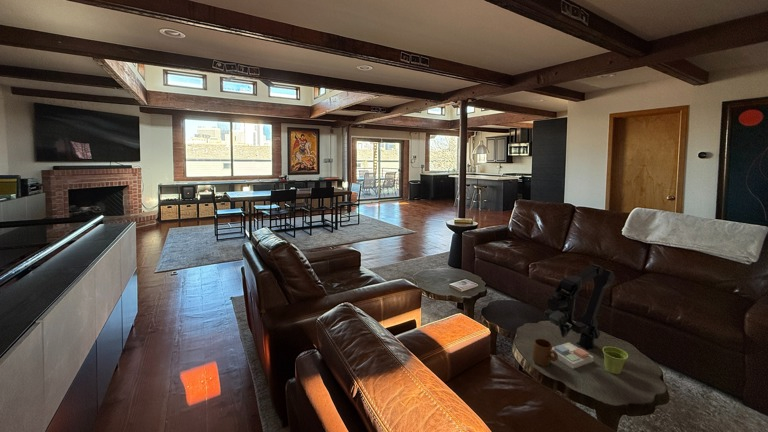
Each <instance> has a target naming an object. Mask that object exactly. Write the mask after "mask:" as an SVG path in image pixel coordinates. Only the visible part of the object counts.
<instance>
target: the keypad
mask: <svg viewBox="0 0 768 432" xmlns="http://www.w3.org/2000/svg"><path fill="white" fill-rule="evenodd" d="M569 344H570V345H572V346H573V347H575V348H577V349H579V347H577V346H576V345H574V344H572V343H571V342H565V343H563V344H561V345H563V346H566V345H569ZM554 347H555V346H552V350H554ZM554 351H555V350H554ZM573 352H574V351H573ZM573 352H570V351H569V353H567V354H564V355H561V354H560V353H558V352H557V351H556V353H557V354H558V359H557V360H558V361H560V362H561V363H562V364H564V365H565V366H567V367H568V368H570V369H572V370H574V369H577V368H579V367H583V366H585V365H589V364H590V363H593V362H594V356H593V355H591V354H590V353H589V356H588V357H586V358H583V359H581V358H580V357H578V356H577V355H575V354H573ZM571 353H572V354H573V355H575V356H576V357H578V358H580V360H577V361H574V362H572V361H571V360H569V359H568V358H566V357H565V355H568V354H571ZM551 356H552V357H554V354H551Z"/></svg>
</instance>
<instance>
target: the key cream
mask: <svg viewBox="0 0 768 432" xmlns="http://www.w3.org/2000/svg"><path fill="white" fill-rule="evenodd" d="M564 347H566V348H568V349H569V351H570V352H573V351H574V350H576V349H577V348H575V347H573V346H572V345H570V344H569V345H566V346H564Z"/></svg>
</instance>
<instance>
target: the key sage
mask: <svg viewBox="0 0 768 432" xmlns="http://www.w3.org/2000/svg"><path fill="white" fill-rule="evenodd" d="M565 357H566V358H568V359H569V360H571V361H572V362H574V361H577V360H580V358H578V357H576V356H575V355H573V354H572V353H571V354H568V355H565Z"/></svg>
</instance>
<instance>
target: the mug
mask: <svg viewBox="0 0 768 432" xmlns="http://www.w3.org/2000/svg"><path fill="white" fill-rule="evenodd" d="M552 347H553V344H552V342H551V341H549V340H547V339H544V338H537V339H535V340H534V342H533V349H532V361H533V362H534V363H535V364H536V365H537V366H541V367H548V366H549V365H550V364H551V361H552V362H556V361H557V360H558V354H557V353H556V351H554V350H552ZM551 354H554V356H552V355H551Z"/></svg>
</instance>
